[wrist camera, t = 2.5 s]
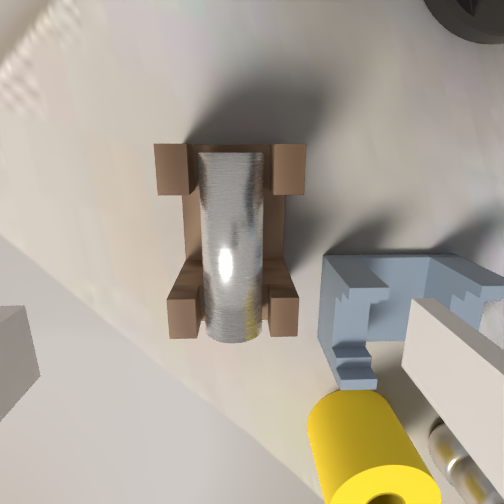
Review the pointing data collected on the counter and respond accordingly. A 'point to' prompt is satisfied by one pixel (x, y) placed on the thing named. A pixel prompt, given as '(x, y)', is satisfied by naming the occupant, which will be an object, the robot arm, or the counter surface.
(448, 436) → the metal bottle
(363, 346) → the blue notched cradle
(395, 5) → the counter surface
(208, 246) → the steel axle
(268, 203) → the bearing stand
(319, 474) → the yellow hollow cylinder
